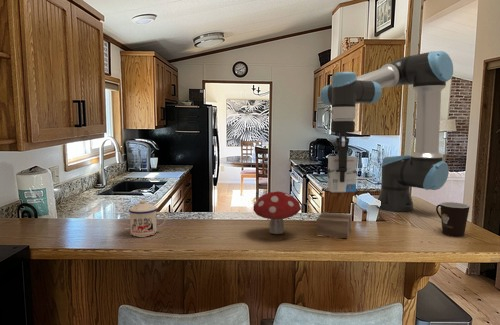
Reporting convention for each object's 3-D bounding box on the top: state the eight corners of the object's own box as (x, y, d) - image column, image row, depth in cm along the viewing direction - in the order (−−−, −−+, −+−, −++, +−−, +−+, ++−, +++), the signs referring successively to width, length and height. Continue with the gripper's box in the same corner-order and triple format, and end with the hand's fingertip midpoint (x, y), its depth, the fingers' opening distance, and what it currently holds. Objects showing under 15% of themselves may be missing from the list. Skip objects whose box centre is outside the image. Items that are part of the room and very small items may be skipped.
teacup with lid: (128, 239, 118) (126, 203, 117) (131, 231, 127) (130, 198, 126) (166, 236, 121) (165, 202, 120) (166, 228, 130) (165, 196, 128)
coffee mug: (472, 238, 117) (474, 208, 116) (443, 237, 119) (444, 207, 118) (459, 228, 129) (460, 200, 128) (432, 227, 130) (434, 199, 129)
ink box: (351, 189, 124) (352, 155, 123) (356, 192, 119) (357, 156, 118) (326, 189, 124) (327, 155, 123) (330, 192, 119) (331, 156, 118)
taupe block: (322, 228, 130) (322, 212, 130) (351, 231, 126) (351, 214, 126) (316, 236, 121) (316, 218, 120) (347, 239, 117) (347, 221, 117)
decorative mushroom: (310, 237, 120) (310, 192, 118) (270, 245, 111) (270, 197, 110) (281, 225, 133) (281, 185, 132) (244, 232, 125) (243, 189, 123)
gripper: (331, 120, 129) (329, 185, 131) (331, 120, 111) (329, 194, 113) (353, 120, 127) (351, 185, 130) (357, 120, 109) (354, 195, 112)
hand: (341, 189), depth 122 cm, fingers closed on ink box, 6 cm apart
